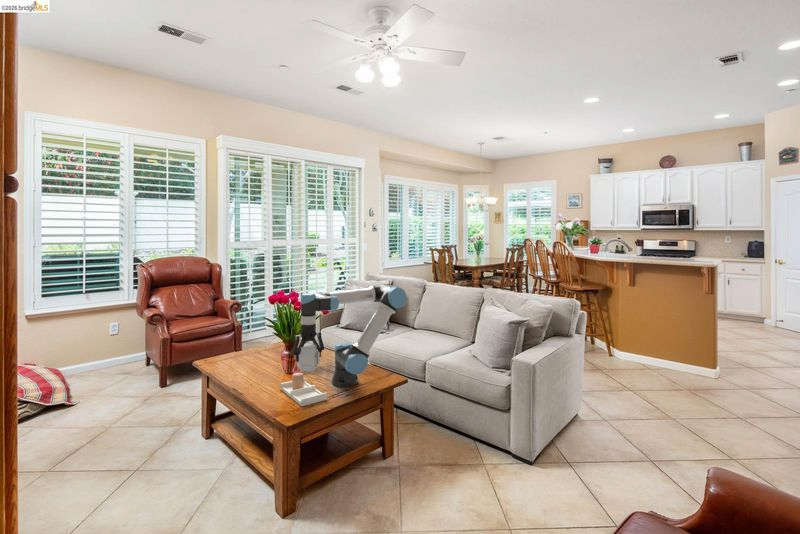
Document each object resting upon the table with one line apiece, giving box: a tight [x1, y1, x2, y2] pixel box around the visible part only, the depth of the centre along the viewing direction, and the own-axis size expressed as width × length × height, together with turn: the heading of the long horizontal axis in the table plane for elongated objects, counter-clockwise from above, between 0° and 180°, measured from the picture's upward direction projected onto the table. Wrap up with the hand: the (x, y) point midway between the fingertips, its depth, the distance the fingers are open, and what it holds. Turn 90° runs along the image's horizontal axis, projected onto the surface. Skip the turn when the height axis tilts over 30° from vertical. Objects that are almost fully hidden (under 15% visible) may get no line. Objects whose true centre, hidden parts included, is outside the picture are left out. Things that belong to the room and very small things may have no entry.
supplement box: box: [299, 343, 318, 372], centre depth 206 cm, size 7×7×13 cm
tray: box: [280, 372, 328, 407], centre depth 213 cm, size 14×27×9 cm, turn 39°
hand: (308, 365), depth 207 cm, fingers closed on supplement box, 10 cm apart
